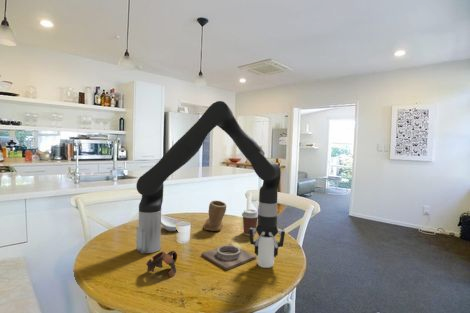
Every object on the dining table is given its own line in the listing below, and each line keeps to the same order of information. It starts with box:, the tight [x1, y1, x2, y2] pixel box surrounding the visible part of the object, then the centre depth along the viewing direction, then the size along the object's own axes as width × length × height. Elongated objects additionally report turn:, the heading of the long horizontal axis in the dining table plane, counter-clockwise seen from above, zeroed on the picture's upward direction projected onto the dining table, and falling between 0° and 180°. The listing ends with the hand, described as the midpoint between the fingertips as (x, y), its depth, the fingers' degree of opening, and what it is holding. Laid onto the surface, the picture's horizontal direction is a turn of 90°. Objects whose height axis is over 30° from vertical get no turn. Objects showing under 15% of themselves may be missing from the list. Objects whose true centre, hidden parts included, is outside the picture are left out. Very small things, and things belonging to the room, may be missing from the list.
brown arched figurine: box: [145, 250, 178, 279], centre depth 92 cm, size 12×10×8 cm
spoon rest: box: [161, 214, 184, 232], centre depth 138 cm, size 24×12×7 cm, turn 74°
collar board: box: [201, 243, 257, 271], centre depth 105 cm, size 16×16×3 cm
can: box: [256, 236, 276, 269], centre depth 99 cm, size 6×6×12 cm
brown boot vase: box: [203, 200, 227, 232], centre depth 140 cm, size 15×12×15 cm
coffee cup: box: [241, 209, 258, 236], centre depth 133 cm, size 9×9×12 cm
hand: (265, 255), depth 99 cm, fingers closed on can, 6 cm apart
